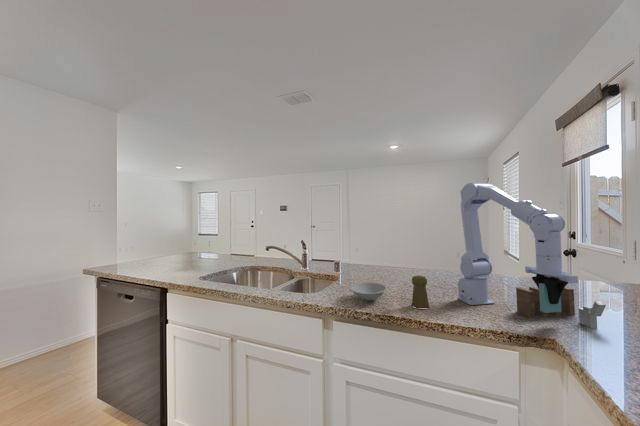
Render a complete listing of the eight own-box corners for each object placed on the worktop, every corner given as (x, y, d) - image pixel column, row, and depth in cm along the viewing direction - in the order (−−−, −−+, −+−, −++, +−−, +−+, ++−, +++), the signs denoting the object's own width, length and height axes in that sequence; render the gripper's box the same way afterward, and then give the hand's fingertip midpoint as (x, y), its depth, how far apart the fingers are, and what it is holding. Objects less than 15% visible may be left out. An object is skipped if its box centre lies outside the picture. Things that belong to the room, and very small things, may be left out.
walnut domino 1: (530, 317, 84) (528, 291, 85) (517, 311, 89) (516, 287, 90) (534, 317, 85) (533, 291, 85) (521, 311, 90) (520, 287, 90)
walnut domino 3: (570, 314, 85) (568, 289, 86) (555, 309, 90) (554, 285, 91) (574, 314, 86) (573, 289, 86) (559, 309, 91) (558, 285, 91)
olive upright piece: (429, 304, 99) (428, 274, 99) (428, 310, 94) (427, 278, 94) (412, 303, 102) (411, 273, 102) (410, 308, 96) (409, 277, 96)
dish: (385, 308, 97) (385, 294, 97) (346, 305, 101) (346, 292, 101) (389, 294, 114) (388, 282, 114) (355, 293, 118) (354, 281, 118)
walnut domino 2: (543, 316, 85) (542, 290, 85) (530, 311, 90) (528, 286, 90) (548, 316, 85) (547, 290, 85) (534, 310, 90) (533, 286, 90)
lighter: (578, 322, 79) (577, 295, 80) (585, 322, 79) (584, 295, 79) (600, 332, 72) (598, 302, 73) (607, 332, 72) (606, 302, 72)
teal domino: (561, 311, 78) (560, 283, 78) (545, 312, 77) (543, 284, 77) (556, 309, 79) (554, 282, 79) (540, 310, 79) (538, 283, 79)
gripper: (587, 258, 71) (590, 310, 71) (539, 251, 86) (541, 294, 86) (562, 259, 71) (565, 311, 71) (518, 252, 85) (520, 295, 85)
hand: (550, 302), depth 78 cm, fingers closed on teal domino, 1 cm apart
